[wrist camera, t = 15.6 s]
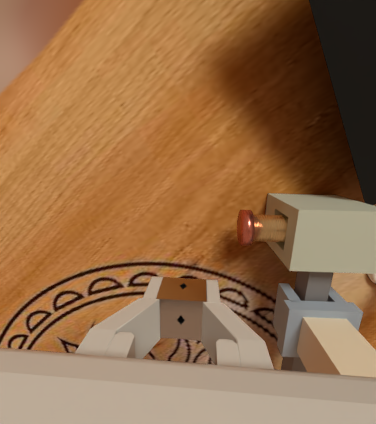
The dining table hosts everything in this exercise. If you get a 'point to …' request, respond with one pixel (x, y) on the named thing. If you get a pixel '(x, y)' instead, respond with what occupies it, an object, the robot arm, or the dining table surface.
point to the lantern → (353, 77)
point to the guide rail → (323, 244)
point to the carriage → (323, 334)
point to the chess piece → (372, 277)
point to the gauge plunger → (260, 227)
